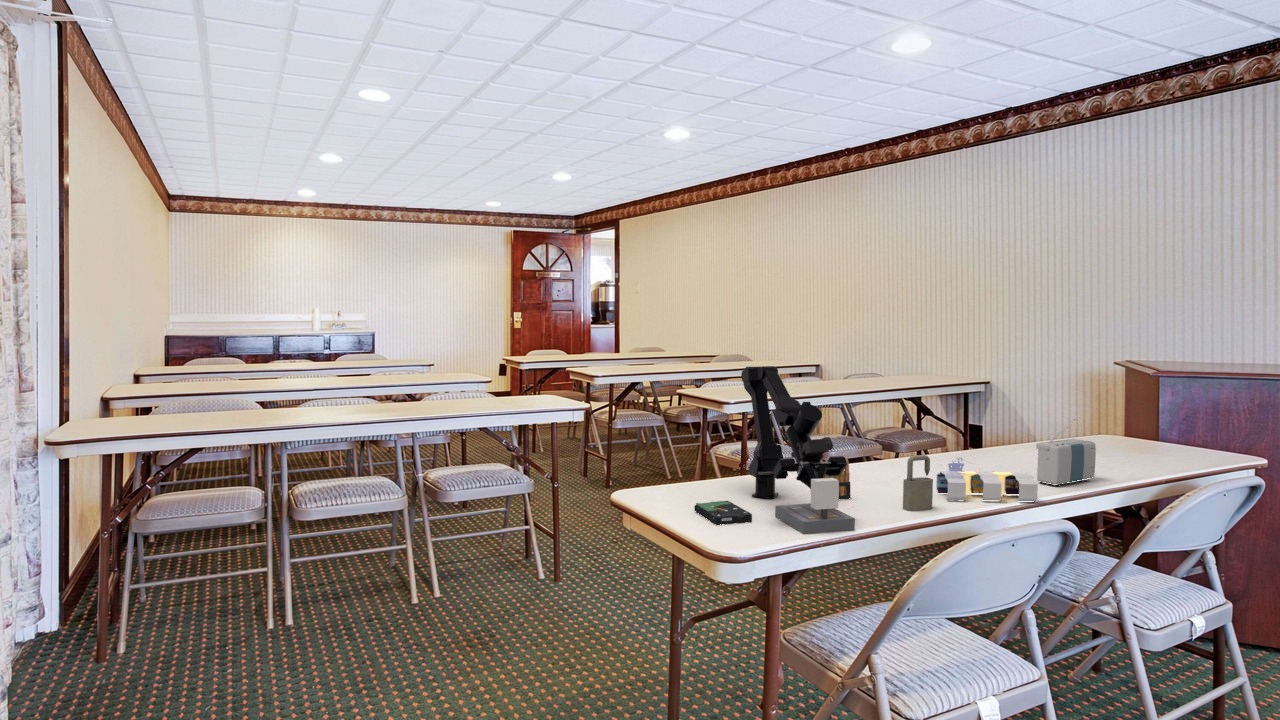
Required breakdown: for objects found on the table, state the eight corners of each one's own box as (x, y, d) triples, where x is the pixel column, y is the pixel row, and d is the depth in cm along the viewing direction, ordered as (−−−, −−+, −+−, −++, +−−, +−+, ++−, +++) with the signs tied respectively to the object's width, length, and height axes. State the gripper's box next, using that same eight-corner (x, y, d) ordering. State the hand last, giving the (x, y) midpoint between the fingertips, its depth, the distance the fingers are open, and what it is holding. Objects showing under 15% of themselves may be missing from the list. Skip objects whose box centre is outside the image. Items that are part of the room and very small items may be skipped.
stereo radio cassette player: (1057, 488, 233) (1060, 425, 231) (1032, 483, 240) (1034, 421, 239) (1095, 481, 243) (1098, 421, 242) (1070, 476, 250) (1073, 417, 249)
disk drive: (752, 524, 192) (727, 509, 205) (753, 513, 191) (727, 499, 205) (716, 527, 188) (693, 512, 202) (716, 517, 188) (693, 502, 202)
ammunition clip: (846, 497, 219) (847, 457, 218) (850, 498, 217) (851, 458, 216) (816, 500, 215) (816, 459, 214) (819, 501, 213) (820, 460, 212)
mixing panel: (775, 516, 196) (775, 505, 196) (822, 513, 200) (823, 502, 200) (803, 533, 181) (803, 521, 181) (854, 530, 185) (854, 517, 184)
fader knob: (810, 515, 186) (811, 478, 185) (832, 513, 187) (832, 477, 187) (816, 518, 183) (816, 481, 182) (838, 516, 184) (838, 480, 184)
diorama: (947, 502, 214) (948, 458, 213) (935, 494, 224) (936, 451, 224) (1036, 505, 212) (1038, 459, 212) (1021, 496, 223) (1022, 453, 222)
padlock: (934, 509, 206) (935, 455, 205) (910, 511, 203) (912, 457, 202) (924, 505, 209) (925, 453, 208) (900, 508, 206) (902, 454, 206)
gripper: (778, 427, 188) (798, 479, 178) (844, 425, 193) (867, 476, 183) (765, 452, 196) (783, 504, 186) (829, 450, 201) (849, 499, 191)
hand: (821, 495), depth 187 cm, fingers closed
